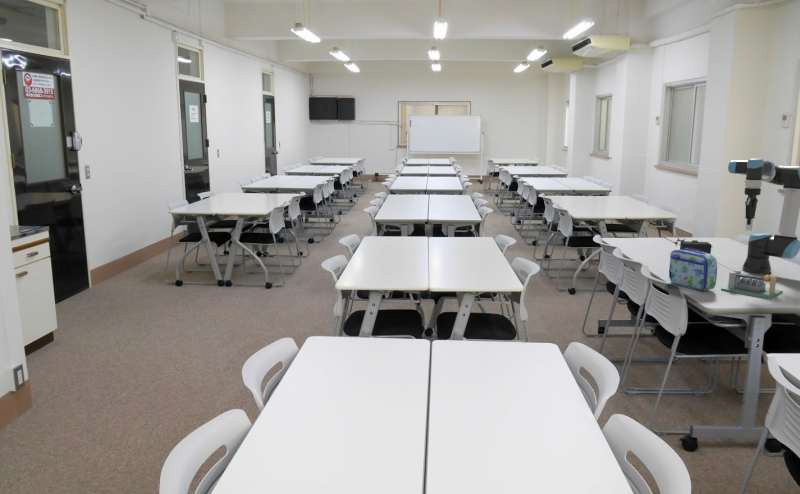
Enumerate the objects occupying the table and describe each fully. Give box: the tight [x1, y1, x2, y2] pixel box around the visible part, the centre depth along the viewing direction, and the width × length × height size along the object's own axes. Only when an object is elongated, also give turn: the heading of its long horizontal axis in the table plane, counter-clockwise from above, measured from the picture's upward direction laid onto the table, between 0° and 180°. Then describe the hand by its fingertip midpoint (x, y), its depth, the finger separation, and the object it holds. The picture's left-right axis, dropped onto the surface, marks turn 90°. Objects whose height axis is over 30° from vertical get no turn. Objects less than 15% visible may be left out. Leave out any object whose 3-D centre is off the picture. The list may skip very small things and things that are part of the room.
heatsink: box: [736, 277, 767, 293], centre depth 323 cm, size 10×11×6 cm
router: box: [679, 239, 713, 255], centre depth 362 cm, size 8×18×20 cm, turn 78°
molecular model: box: [669, 236, 686, 255], centre depth 400 cm, size 25×12×16 cm, turn 156°
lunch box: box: [668, 248, 718, 291], centre depth 331 cm, size 26×11×21 cm, turn 21°
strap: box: [736, 273, 773, 282], centre depth 321 cm, size 4×16×2 cm, turn 42°
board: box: [720, 269, 783, 300], centre depth 322 cm, size 19×24×10 cm
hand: (748, 230), depth 328 cm, fingers closed
